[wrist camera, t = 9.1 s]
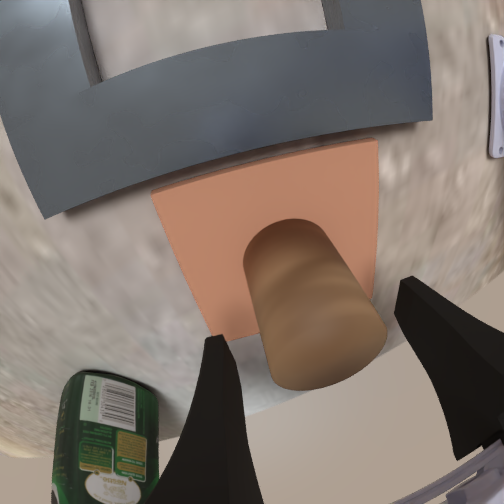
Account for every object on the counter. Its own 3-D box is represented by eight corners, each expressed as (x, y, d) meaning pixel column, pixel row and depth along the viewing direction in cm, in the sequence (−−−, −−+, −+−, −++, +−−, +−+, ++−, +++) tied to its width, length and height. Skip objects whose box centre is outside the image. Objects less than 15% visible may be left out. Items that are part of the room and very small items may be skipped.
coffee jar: (134, 425, 24) (148, 595, 9) (58, 402, 21) (53, 583, 6) (174, 386, 21) (205, 618, 6) (73, 353, 17) (67, 615, 2)
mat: (372, 137, 12) (377, 140, 12) (368, 292, 18) (372, 298, 18) (151, 190, 12) (150, 195, 12) (215, 337, 18) (216, 343, 18)
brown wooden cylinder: (327, 208, 13) (395, 298, 9) (331, 278, 16) (379, 367, 11) (233, 233, 13) (260, 342, 9) (252, 300, 16) (279, 400, 11)
